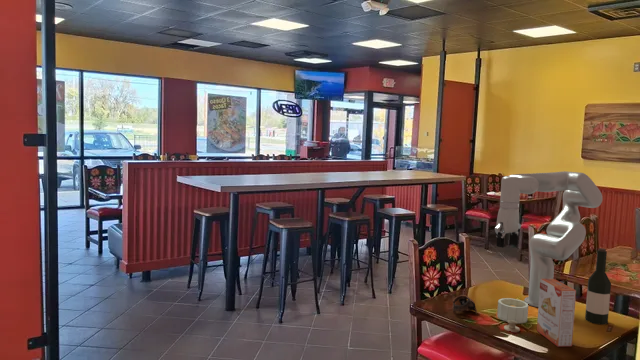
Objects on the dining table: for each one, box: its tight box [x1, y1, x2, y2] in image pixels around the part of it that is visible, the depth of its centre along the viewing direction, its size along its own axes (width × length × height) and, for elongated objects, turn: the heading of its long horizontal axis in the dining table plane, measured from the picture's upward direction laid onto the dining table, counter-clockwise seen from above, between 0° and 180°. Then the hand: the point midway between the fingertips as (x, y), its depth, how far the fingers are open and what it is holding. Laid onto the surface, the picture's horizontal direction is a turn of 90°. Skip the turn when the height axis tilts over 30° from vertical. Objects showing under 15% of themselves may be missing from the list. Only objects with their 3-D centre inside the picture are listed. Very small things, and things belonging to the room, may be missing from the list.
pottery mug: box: [452, 294, 478, 315], centre depth 203 cm, size 12×10×8 cm
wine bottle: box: [584, 247, 612, 326], centre depth 196 cm, size 8×8×30 cm
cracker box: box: [536, 278, 577, 348], centre depth 176 cm, size 14×6×21 cm, turn 5°
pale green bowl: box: [496, 297, 529, 324], centre depth 197 cm, size 11×11×6 cm
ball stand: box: [503, 320, 521, 333], centre depth 185 cm, size 6×6×3 cm
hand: (507, 245), depth 204 cm, fingers open, 9 cm apart
